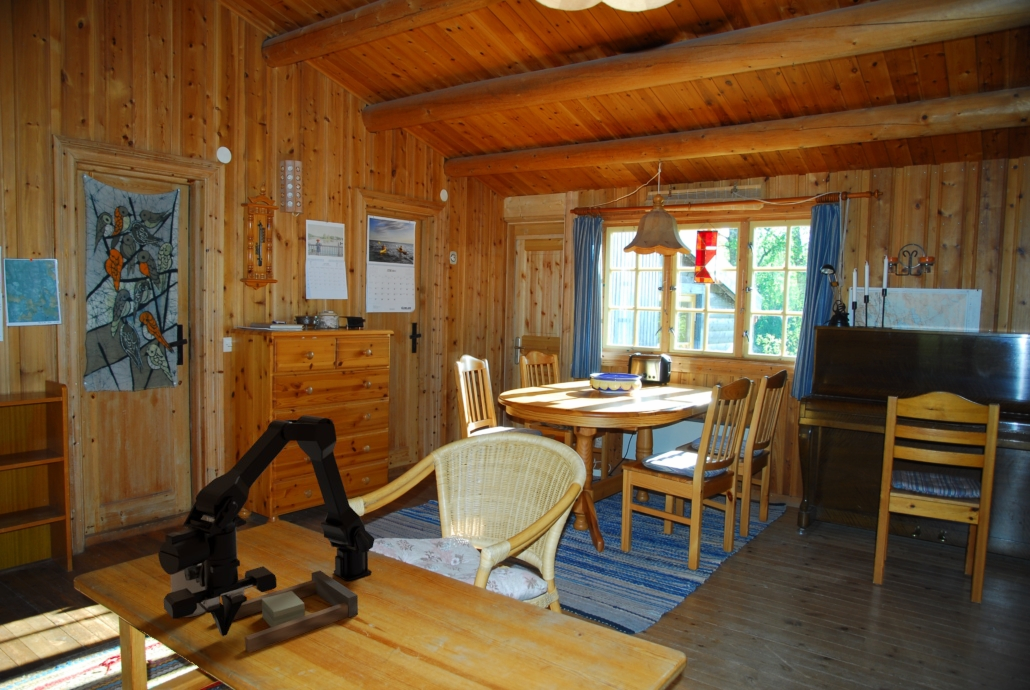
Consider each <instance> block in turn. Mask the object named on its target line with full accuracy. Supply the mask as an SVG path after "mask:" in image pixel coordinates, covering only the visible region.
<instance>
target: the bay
mask: <svg viewBox="0 0 1030 690" xmlns="http://www.w3.org/2000/svg"><path fill="white" fill-rule="evenodd" d="M289 591H292V592H293V593H294V594H295V595H296V596H297V597H298V598H299V599H300V600H301V599H303V598H306V597H309V596H313V595H315V594H316V595H317V596H319V597H320V598H322V599H323V600H324V601H325V602H327V603H328V604H330V605H331V606H330V607H327V608H324V609H321V610H318V611H315V612H312V613H309V614H306V615H305V616H303V617H300V618H297V619H295V620H292V621H289V622H286V623H283V624H280V625H277V626H274V627H268V628H266V629H263V630H260V631H257V632H254V633H251V634H248V635H245V636H244V643H245V644H244V645H245V646H244V647H245V651H246V652H247V653H248V654H249V653H252V652H255V651H258V650H261V649H263V648H267V647H269V646H272V645H275V644H278V643H280V642H283V641H285V640H286V641H287V640H288V639H289V640H290V639H291V638H295V637H297V636H299V635H302V634H304V633H307V632H310V631H313V630H316V629H319V628H321V627H325V626H327V625H330V624H333V623H336V622H338V620H339V621H341V620H344V619H347V618H351V616H352V617H353V616H357V615H359V612H358V611H359V608H358V606H359V602H358V600H359V599H358V596H359V595H358V594H357V593H355V592H353V591H352V590H351V589H349V588H348V587H346V585H345V586H344V585H343V584H342V583H340V582H338V581H337V580H335V579H334V578H332V577H331V576H329V575H328V574H326V573H324V572H323V571H322V570H317V571H314V572H311V580H308V581H305V582H301V583H298V584H295V585H292V586H288V587H285V588H282V589H278V590H275V591H272V592H268V593H266V594H262V595H259V596H256V597H253V598H250V599H247V601H246V602H243V603H242V605H241V607H240V608H239V610H238V612H237V614H236V615H235V617H234V620H235V621H236V620H239V619H241V618H244V617H247V616H251V615H253V614H257V613H260V612H262V599H263V598H267V597H271V596H274V595H278V594H281V593H285V592H289ZM234 620H233V621H234Z"/></svg>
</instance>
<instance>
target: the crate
mask: <svg viewBox="0 0 1030 690" xmlns="http://www.w3.org/2000/svg"><path fill="white" fill-rule="evenodd" d="M261 614H262V616H261V617H262V619H263V620H264V621H265V622H266V623H267V625H268V626H269V628H271V627H274V626H277V625H280V624H283V623H286V622H289V621H292V620H295V619H297V618H300V617H303V616H306V615H305V614H306V607H305V602H303V600H302V599H301V598H300V599H299V598H298V597H297V596H296V595H295V594H294V593H293V592H292V591H289V592H285V593H281V594H278V595H274V596H271V597H267V598H263V599H262V611H261Z"/></svg>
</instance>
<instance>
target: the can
mask: <svg viewBox="0 0 1030 690" xmlns="http://www.w3.org/2000/svg"><path fill="white" fill-rule="evenodd" d="M201 564H202V563H201ZM201 564H198V565H201ZM185 588H187V589H188V590H189V591H190V592H191V593H196V592H199V591H203V590H205V586H204V587H201V586H200V582H198V583H196V579H193V580H190V581H186V579H185V574H184V570H183V571H180V572H178V573H175V574H173V575H170V591H171V592H175V591H178V590H182V589H185ZM171 592H170V593H171ZM204 613H207V612H206V611H205V610H204V609H203V608H202V607H201V606H200V605H199V604H198V603H197V609H196V610H195V612H194V613H193V614H191V615H188V616H185V617H184V618H190V617H191V618H192V617H196V616H200V615H202V614H204Z"/></svg>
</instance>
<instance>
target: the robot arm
mask: <svg viewBox="0 0 1030 690" xmlns="http://www.w3.org/2000/svg"><path fill="white" fill-rule="evenodd" d="M337 440H338V439H337V433H336V426H335V423H334V421H333V420H332V419H331V418H328V417H323V416H321V417H320V416H314V415H307V414H306V415H305V414H303V415H301V416H299V418H297V419H283V420H280V419H275V420H273V421H270V423H269V424H268V425H267V429H266V430H265V431H264V432H263V433H262V434H261V436H260V437H258V439H256V441H255V442H254V443H253V445H252V446H251V447H249V449H248V450H247V451H246V452H245V453H244V454H243V455H242V456H241V457H240V459H239V460H237V462H236V464H234V466H233V467H232V468H230V470H228V471H227V472H225V473H224V474H222V475H220V476H218V477H216V478H213V480H211V481H210V482H209V483H208V484H207V485H205V486H204V487H203V488H202V489H201V490H199V492H198V493H197V495H196V497H195V502H194V504H193V506H192V507H191V509H190V512H189V513H188V515H187V517H186V519H185V520H184V522H183V524H182V525H183V527H184V528H186V529H182V530H180V531H175V532H170V533H167V534H166V535H165V537H164V539H165V541H164V542H162V543H161V545H160V547H159V551H158V552H157V555H158V561H159V563H160V566H161V569H162V570H163V571H164V572H165V573H166V574H167V575H170V576H171V575H173V574H175V573H178V572H180V571H183V570H184V574H185V579H186V581H190V580H193V579H196V583H198V582H200V586H201V587H204V586H205V590H203V591H199V592H196V593H191V592H190V591H189V590H188V589H187V588H185V589H182V590H178V591H175V592H168V593H166V595H165V597H164V598H163V609H164V610H165V611H166V613H167V614H168V615H169V616H170V617H171V618H172V620H178V619H181V618H186V617H185V616H188V615H191V614H193V613H194V612H195V610H196V609H197V603H198V604H199V605H200V606H201V607H202V608H203V609H204V610H205V611H206V612H205V613H206V614H211V616H212V618H213V620H214V622H215V624H216V627H217V629H218V632H219V634H220V636H221V637H226V636H227V635H228V633H229V631H230V629H231V626H232V624H233V622H234V617H235V615H236V614H237V612H238V610H239V608H240V607H241V605H242V603H243V602H246V601H247V600H248V597H247V596H246V595H245V590H246V589H250V588H253V587H256V590H257V591H259V592H260V593H264V592H268V591H272V590H274V589H276V588H277V585H278V583H277V576H276V574H274V573H273V572H272V571H271V570H270V569H268V568H266V567H265V566H259V567H256V568H253V569H249V570H245V573H244V578H241V579H239V567H240V565H241V561H240V559H238V540H237V538H238V536H237V528H240V527H243V526H245V525H247V522H248V521H247V520H246V519H244V518H242V517H241V516H240V515H239V514H240V512H241V511H242V509H243V507H244V506H245V505H246V503H247V501H248V500H249V494H250V489H251V488H252V486H253V485H254V484H255V482H256V481H257V480H258V479H259V478H260V477H261V475H262V474H263V473H264V472H265V471H266V470H267V468H268V467H269V466H270V465H271V464H272V462H273V461H274V460H275V458H277V457H278V455H280V453H281V452H282V451H283V450H284V449H285V447H286V446H287V445H288V444H289V443H290V442H296V444H297V446H299V448H300V449H301V450H302V451H303V452H304V454H305V455H307V457H309V460H310V462H311V465H312V468H313V471H314V475H315V478H316V481H317V484H318V487H319V490H320V494H321V496H322V500H323V503H324V506H325V509H326V513H327V514H326V517H325V518H324V520H323V521H322V522H320V527H321V528H322V530H323V538H325V539H327V540H328V541H329V543H330V546H331V547H332V548H336V555H335V556H334V570H333V574H335V575H336V576H338V577H339V578H341V579H343V580H345V582H349V581H352V580H357V579H359V578H362V577H365V576H368V575H371V574H372V573H373V571H372V570H371V569H369V566H368V565H369V555H368V554H369V552H370V550H371V549H372V548H374V542H375V537H374V536H372V534H370V533H369V532H368V531H367V530H366V528H365V527H366V526H365V525H364V522H363V520H362V518H361V516H360V515H359V514H358V513H357V512H356V511H355V510H354V508H352V506H351V505H350V502H349V499H348V497H347V493H346V489H345V487H344V486H345V485H344V482H343V480H342V476H341V472H340V470H339V466H338V462H337V460H336V456H335V453H334V451H335V448H336V444H337ZM203 517H205V518H208V519H212V520H213V522H212V521H208V520H205V519H203ZM201 563H202V564H201ZM198 564H201V565H198Z"/></svg>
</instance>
